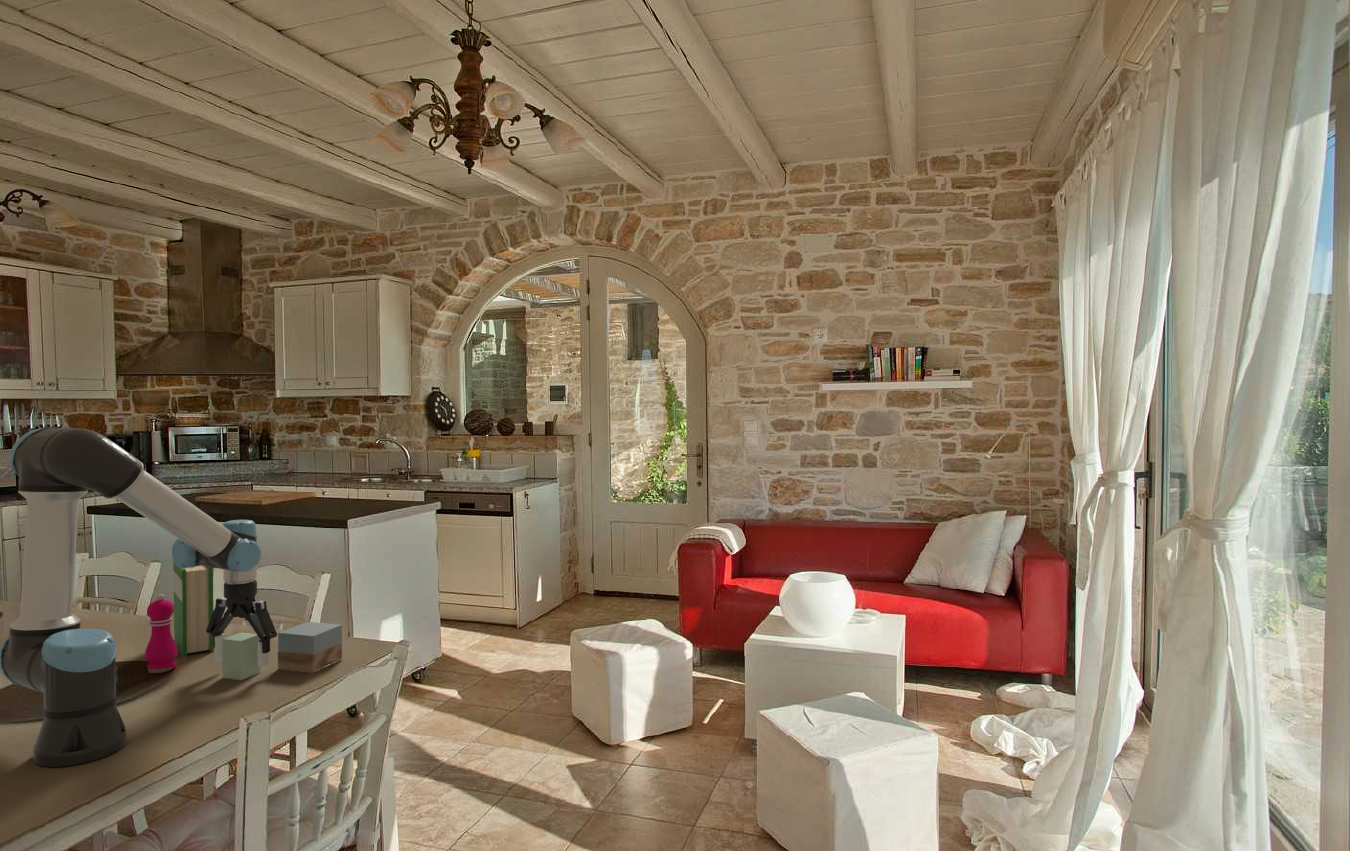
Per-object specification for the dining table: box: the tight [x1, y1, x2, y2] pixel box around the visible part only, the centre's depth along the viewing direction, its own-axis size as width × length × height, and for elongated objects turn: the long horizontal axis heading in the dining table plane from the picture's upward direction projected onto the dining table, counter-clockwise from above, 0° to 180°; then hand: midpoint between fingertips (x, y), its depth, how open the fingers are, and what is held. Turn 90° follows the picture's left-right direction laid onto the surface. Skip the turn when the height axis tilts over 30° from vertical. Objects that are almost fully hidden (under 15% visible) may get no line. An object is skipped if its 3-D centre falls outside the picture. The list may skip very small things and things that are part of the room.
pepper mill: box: [144, 593, 179, 669], centre depth 208 cm, size 7×7×20 cm
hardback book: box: [172, 561, 215, 658], centre depth 228 cm, size 18×7×24 cm, turn 39°
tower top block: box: [277, 621, 343, 655], centre depth 213 cm, size 11×11×5 cm
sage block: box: [221, 632, 261, 681], centre depth 205 cm, size 6×6×10 cm
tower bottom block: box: [277, 642, 343, 674], centre depth 213 cm, size 11×11×5 cm
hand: (241, 662), depth 205 cm, fingers open, 13 cm apart
